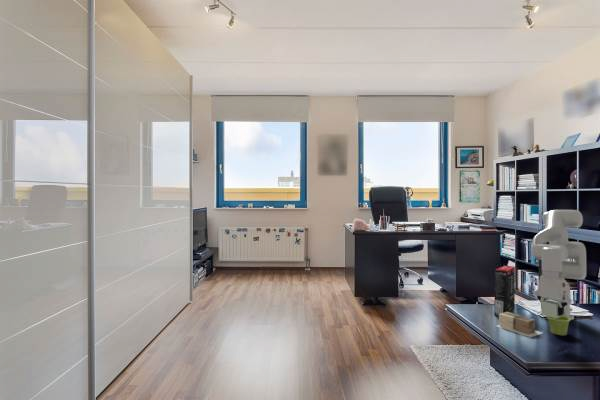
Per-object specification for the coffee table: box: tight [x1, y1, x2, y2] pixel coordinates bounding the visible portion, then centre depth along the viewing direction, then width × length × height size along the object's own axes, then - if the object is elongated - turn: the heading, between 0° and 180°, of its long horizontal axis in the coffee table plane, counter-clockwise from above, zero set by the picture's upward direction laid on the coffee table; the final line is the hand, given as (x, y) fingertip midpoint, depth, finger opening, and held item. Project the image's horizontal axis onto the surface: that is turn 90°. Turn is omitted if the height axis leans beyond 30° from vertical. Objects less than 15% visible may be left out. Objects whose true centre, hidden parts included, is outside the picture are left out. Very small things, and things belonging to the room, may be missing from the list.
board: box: [496, 324, 544, 338], centre depth 173 cm, size 11×17×1 cm, turn 28°
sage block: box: [540, 298, 563, 318], centre depth 159 cm, size 6×6×6 cm
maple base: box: [498, 312, 522, 330], centre depth 177 cm, size 7×7×6 cm
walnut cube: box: [515, 315, 536, 334], centre depth 170 cm, size 6×6×6 cm
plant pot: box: [545, 315, 572, 336], centre depth 168 cm, size 9×9×9 cm
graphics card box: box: [493, 265, 516, 318], centre depth 198 cm, size 17×7×27 cm, turn 136°
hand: (552, 312), depth 159 cm, fingers closed on sage block, 6 cm apart
